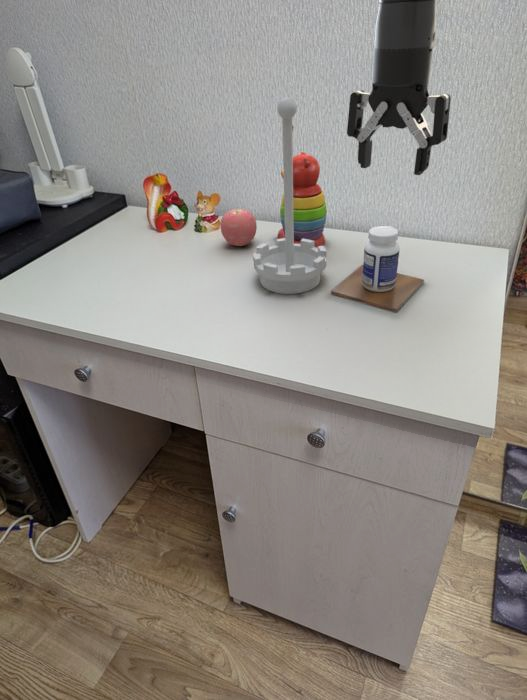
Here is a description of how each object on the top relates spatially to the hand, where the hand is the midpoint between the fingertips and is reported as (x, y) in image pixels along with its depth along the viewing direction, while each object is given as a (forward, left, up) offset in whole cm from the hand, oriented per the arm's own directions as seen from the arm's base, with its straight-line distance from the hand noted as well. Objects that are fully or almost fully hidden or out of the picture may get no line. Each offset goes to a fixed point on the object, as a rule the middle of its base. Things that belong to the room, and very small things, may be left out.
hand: (391, 170), depth 74 cm
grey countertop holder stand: (+16, +5, -20) cm, 26 cm away
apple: (+34, -3, -20) cm, 39 cm away
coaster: (+1, 0, -20) cm, 20 cm away
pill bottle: (0, 0, -20) cm, 20 cm away
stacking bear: (+23, -10, -20) cm, 32 cm away
